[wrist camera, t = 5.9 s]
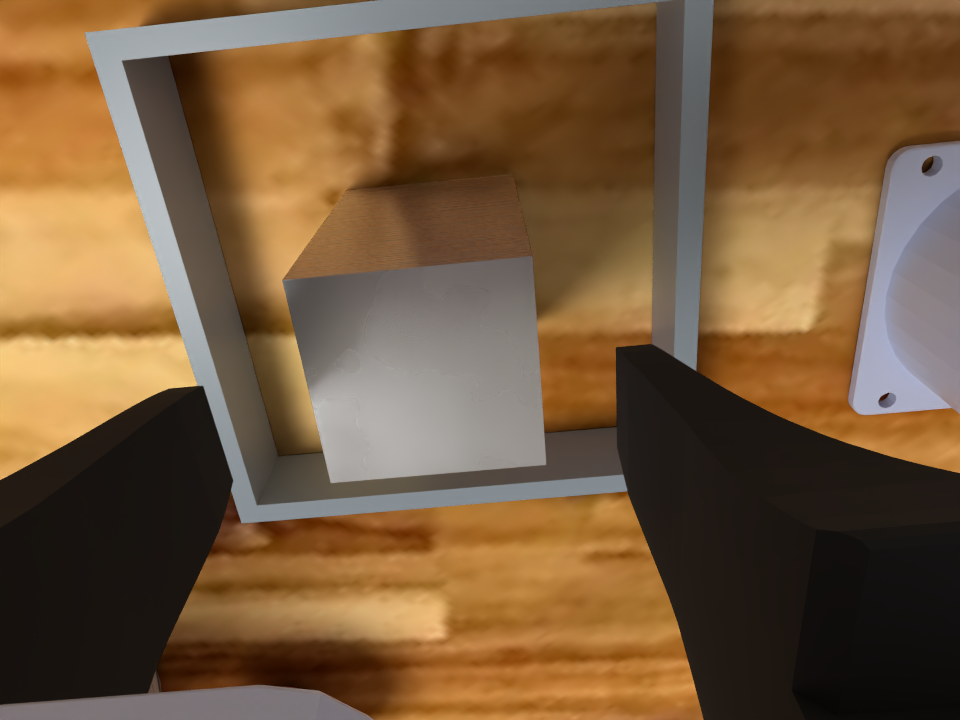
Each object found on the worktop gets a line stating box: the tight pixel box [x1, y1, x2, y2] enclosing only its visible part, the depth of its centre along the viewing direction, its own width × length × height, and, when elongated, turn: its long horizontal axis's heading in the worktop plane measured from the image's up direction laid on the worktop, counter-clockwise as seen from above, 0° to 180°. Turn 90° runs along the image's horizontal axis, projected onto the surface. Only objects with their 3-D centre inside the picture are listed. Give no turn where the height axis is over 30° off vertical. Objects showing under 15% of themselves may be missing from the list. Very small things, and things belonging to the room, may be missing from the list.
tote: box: [85, 0, 714, 523], centre depth 18 cm, size 13×13×2 cm
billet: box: [282, 173, 546, 483], centre depth 17 cm, size 4×4×7 cm
